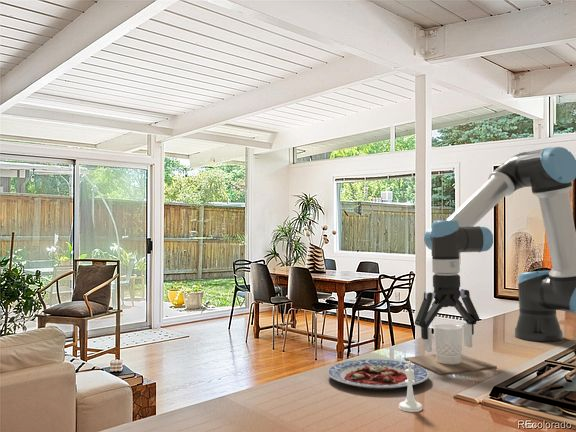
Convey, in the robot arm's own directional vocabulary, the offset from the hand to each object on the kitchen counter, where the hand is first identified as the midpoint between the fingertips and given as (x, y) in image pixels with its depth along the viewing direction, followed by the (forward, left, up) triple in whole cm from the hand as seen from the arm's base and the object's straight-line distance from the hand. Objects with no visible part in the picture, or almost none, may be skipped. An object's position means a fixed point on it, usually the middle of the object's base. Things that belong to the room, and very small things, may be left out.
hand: (448, 348), depth 147 cm
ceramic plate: (+26, +6, -5) cm, 27 cm away
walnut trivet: (0, 0, -4) cm, 4 cm away
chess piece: (+30, +28, -4) cm, 41 cm away
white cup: (0, 0, -4) cm, 4 cm away
